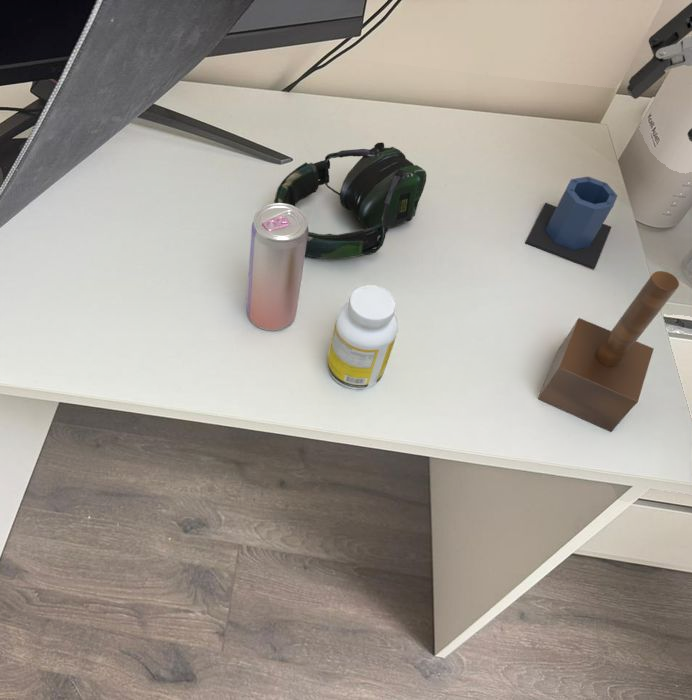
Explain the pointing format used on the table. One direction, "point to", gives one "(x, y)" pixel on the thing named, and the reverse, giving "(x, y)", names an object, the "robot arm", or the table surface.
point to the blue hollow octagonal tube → (581, 212)
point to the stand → (607, 360)
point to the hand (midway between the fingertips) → (660, 115)
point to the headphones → (360, 198)
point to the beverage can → (276, 265)
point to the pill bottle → (363, 337)
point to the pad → (544, 242)
